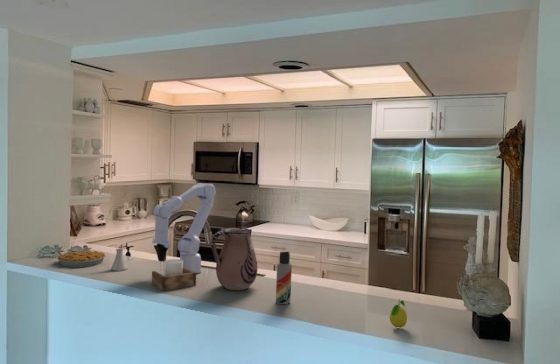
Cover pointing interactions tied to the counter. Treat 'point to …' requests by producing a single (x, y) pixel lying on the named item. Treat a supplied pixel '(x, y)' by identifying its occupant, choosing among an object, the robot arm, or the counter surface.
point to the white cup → (173, 267)
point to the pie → (81, 258)
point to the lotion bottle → (283, 279)
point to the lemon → (398, 315)
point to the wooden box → (174, 280)
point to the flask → (119, 261)
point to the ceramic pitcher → (235, 259)
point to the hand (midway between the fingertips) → (161, 260)
